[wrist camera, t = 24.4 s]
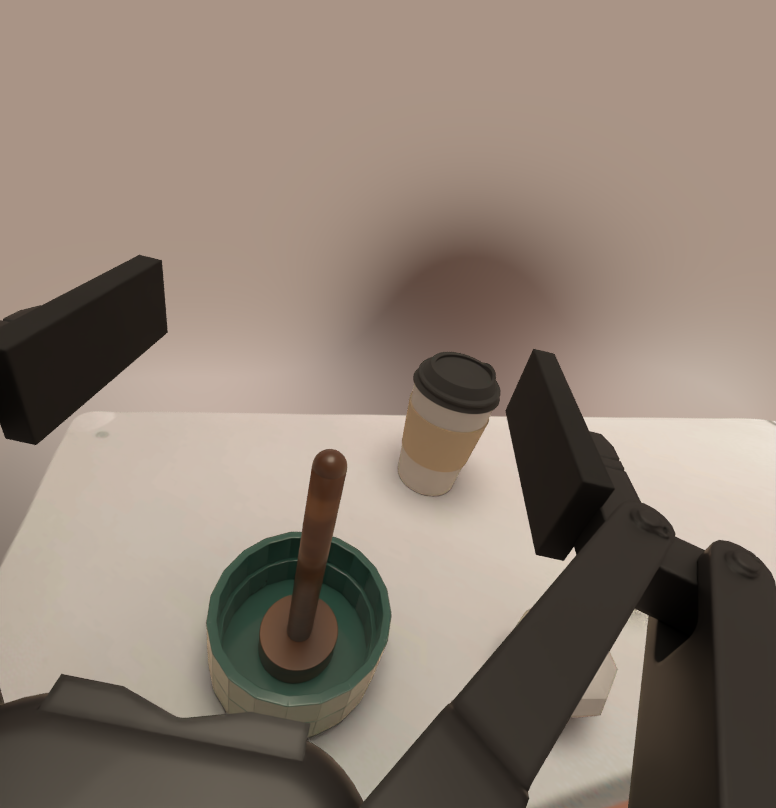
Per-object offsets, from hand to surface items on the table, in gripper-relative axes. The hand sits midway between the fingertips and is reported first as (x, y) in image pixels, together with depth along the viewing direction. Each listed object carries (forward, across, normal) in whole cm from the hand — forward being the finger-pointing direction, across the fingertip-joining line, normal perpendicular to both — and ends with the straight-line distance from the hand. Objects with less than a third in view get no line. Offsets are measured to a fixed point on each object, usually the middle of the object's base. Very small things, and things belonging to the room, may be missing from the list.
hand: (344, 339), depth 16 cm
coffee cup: (+25, +10, -28) cm, 39 cm away
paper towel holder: (+3, 0, -27) cm, 27 cm away
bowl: (+3, 0, -28) cm, 28 cm away
